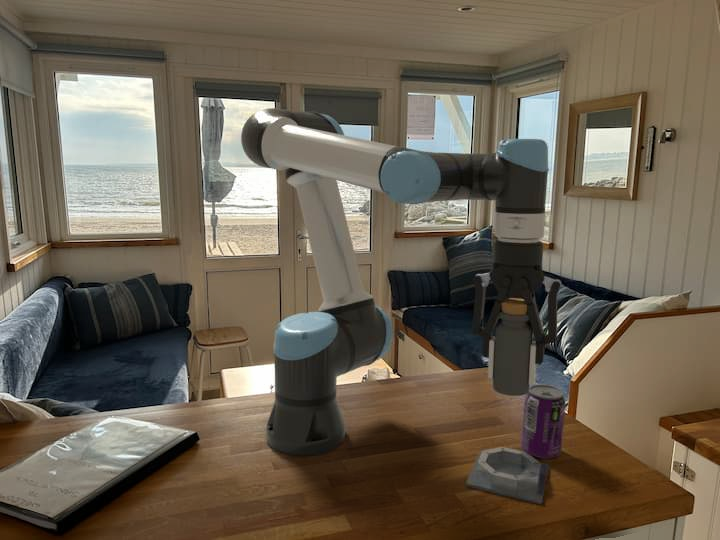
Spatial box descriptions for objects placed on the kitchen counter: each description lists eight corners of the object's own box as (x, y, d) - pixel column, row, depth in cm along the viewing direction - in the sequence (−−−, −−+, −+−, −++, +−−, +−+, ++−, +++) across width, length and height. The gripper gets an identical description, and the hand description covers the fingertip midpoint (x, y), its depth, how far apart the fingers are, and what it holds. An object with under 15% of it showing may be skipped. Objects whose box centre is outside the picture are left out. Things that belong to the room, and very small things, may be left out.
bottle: (533, 396, 90) (539, 305, 87) (496, 396, 90) (501, 305, 87) (523, 382, 96) (528, 297, 93) (489, 382, 96) (493, 296, 93)
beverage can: (563, 463, 100) (569, 400, 98) (522, 458, 102) (527, 396, 99) (557, 444, 107) (563, 385, 105) (519, 440, 109) (524, 381, 106)
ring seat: (465, 486, 93) (466, 472, 92) (480, 452, 103) (480, 439, 103) (541, 504, 88) (542, 489, 88) (548, 467, 99) (549, 453, 98)
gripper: (454, 239, 89) (449, 378, 93) (581, 245, 82) (570, 396, 86) (464, 234, 96) (460, 364, 100) (583, 239, 88) (573, 379, 92)
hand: (511, 378), depth 93 cm, fingers closed on bottle, 6 cm apart
